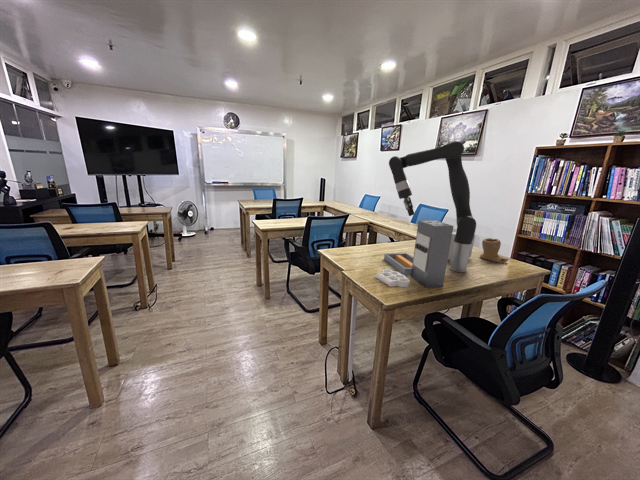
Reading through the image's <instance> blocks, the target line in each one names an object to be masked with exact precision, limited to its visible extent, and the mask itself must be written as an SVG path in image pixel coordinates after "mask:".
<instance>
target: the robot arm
mask: <svg viewBox="0 0 640 480" xmlns="http://www.w3.org/2000/svg"><path fill="white" fill-rule="evenodd" d="M464 151H465V146H464V144H463V142H461V141H458V140H454V141H450V142H448V143H446V144H445V145H442V146H439V147H435V148H431V149H426V150H422V151H417V152H413V153H408V154H406V155H404V156H402V157H399V156H397V155H396V156H392V157H391V158H390V159H389V160H388V166H389V169H390V172H391V174H392V177H393V182H394V185H395V189H396V192H397V195H398V198H399V199H400V200H402V199H403V204H404V207H405V209H406V211H407V214H408V216H409V217H410V216H414V215H415V212H414V205H413V202H412V199H411V196H413V192H412V189H411V187H410V183H409V181H408V179H407V176H406V173H405V171H404V169H405V168H407V167H408V168H409V167H414V166H418V165H422V164H427V163H429V162H432V161H436V160H442V159H445V162H446V164H447V170H448V179H449V188H450V193H451V197H452V200H453V204H454V206H455V213H456V226H457V227H456V231H455V232H456V236H455V238H454V244H453V249H452V255H451V260H449V261H450V262H449V266H448V268H449V270H451V271H452V272H453V271H454V272H456V273H457V272H458V273H465V272H467V267H468V264H469V263H468V262H469V260H470V258H469V254H470V249H471V244H472V240H473V238H474V235H475V234H476V229H477V221H476V219H475V218H474V217H473V214H472V211H471V205H470V201H471V200H470V199H471V196H470V195H471V192H470V185H469V180H468V176H467V174H466V171H465V169H464V166H463V161H462V155H463V153H464Z"/></svg>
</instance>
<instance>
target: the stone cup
mask: <svg viewBox="0 0 640 480" xmlns="http://www.w3.org/2000/svg"><path fill="white" fill-rule="evenodd" d="M481 245H482V250H483V253H482V254H480V255H479V257H480V258H482V259H483V260H488V261H491V262H492V261H493V262H495V263H499V264H504V263H507V262H508V261H509V259H508V258H505V257H502V256H499V252H500V249H501V245H502V243H501V240H500V239H499V238H490V237H489V238H483V240H482V242H481Z"/></svg>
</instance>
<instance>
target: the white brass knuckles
mask: <svg viewBox="0 0 640 480" xmlns="http://www.w3.org/2000/svg"><path fill="white" fill-rule="evenodd" d="M374 278H375V279H377V280H379V281H380V282H381V283H384V284H386V285H387V286H388V287H390V288H391V287H397V286H398V287H401V288H408V287H410V279H409V278H407V275H405V276H404V275H403V274H402V273H400V272H399V271H396V270H395V271H394V270H392V269H389V268H384V269H382V272H379V273H376V274H375V276H374Z"/></svg>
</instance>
